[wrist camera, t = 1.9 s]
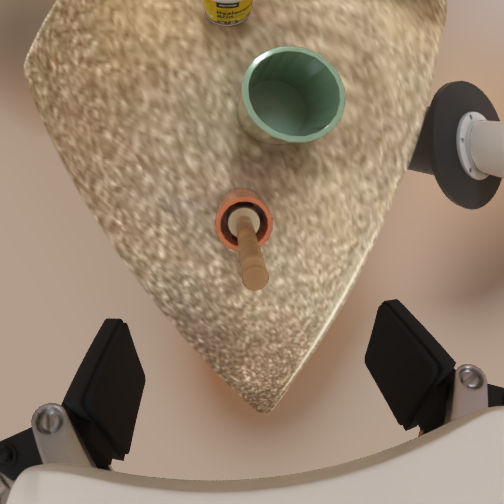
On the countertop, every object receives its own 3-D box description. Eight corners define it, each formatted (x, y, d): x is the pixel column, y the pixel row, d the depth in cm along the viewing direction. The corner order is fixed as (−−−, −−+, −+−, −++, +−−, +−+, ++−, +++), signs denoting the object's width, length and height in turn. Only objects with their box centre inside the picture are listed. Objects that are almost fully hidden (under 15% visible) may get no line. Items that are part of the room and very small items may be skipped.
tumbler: (306, 79, 27) (342, 52, 17) (308, 144, 30) (346, 144, 20) (236, 77, 26) (241, 44, 16) (238, 144, 29) (243, 142, 19)
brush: (255, 198, 31) (282, 252, 16) (255, 224, 33) (281, 300, 17) (227, 199, 31) (226, 255, 15) (228, 225, 32) (229, 303, 17)
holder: (264, 187, 31) (272, 195, 26) (265, 232, 34) (272, 250, 28) (216, 189, 31) (213, 198, 26) (219, 234, 33) (217, 253, 28)
